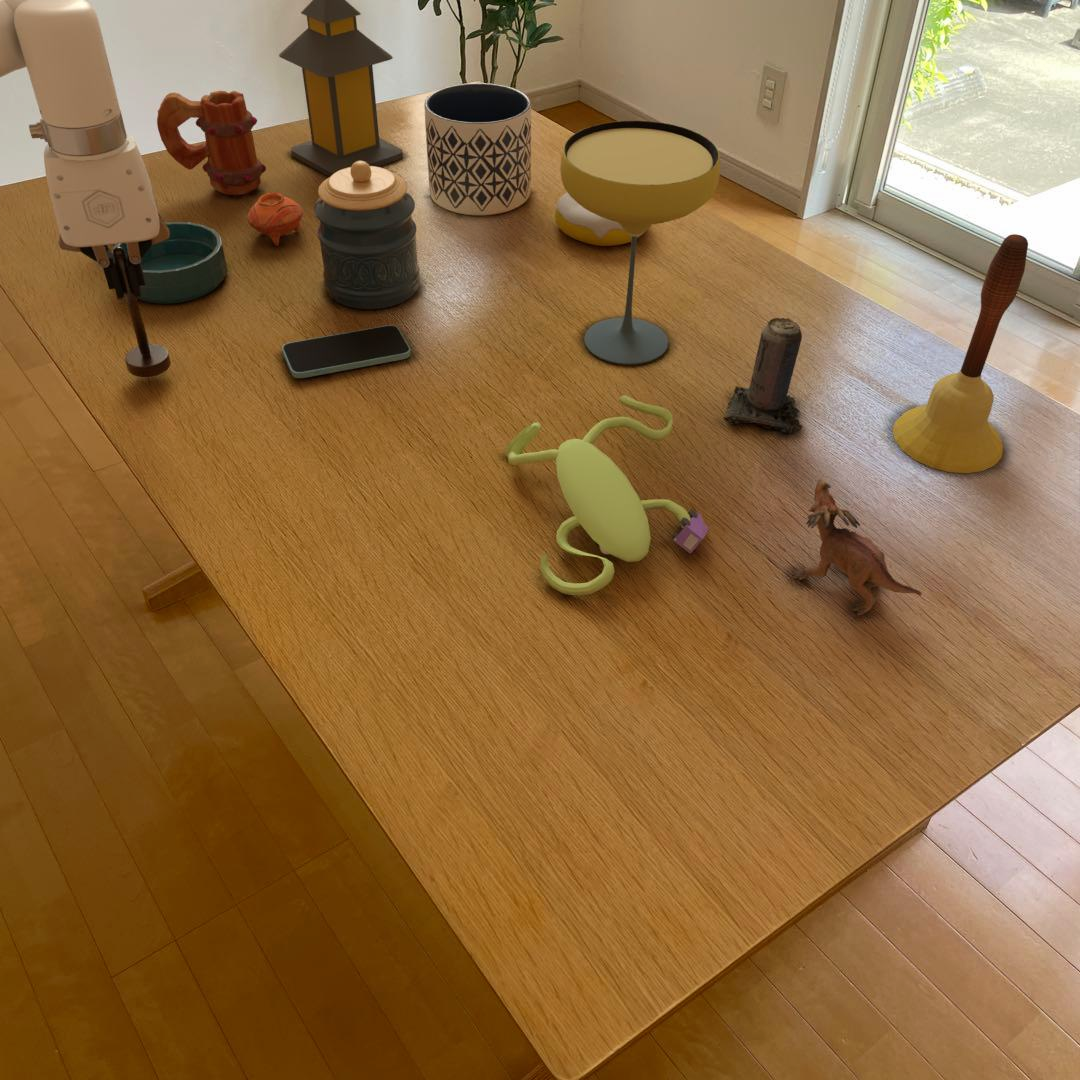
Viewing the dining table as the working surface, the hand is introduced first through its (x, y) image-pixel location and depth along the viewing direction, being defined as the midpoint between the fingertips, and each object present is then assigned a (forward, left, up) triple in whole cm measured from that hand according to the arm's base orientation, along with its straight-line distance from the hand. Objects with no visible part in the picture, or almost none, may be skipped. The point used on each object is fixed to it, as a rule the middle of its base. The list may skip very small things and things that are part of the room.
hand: (129, 291), depth 120 cm
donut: (+65, +23, -12) cm, 70 cm away
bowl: (+3, +24, -12) cm, 27 cm away
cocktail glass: (+58, -7, -12) cm, 60 cm away
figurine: (+45, -36, -12) cm, 59 cm away
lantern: (+32, +59, -12) cm, 68 cm away
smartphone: (+23, -1, -12) cm, 26 cm away
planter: (+50, +39, -12) cm, 65 cm away
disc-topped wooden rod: (0, 0, -10) cm, 10 cm away
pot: (+18, +33, -12) cm, 39 cm away
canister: (+29, +15, -12) cm, 35 cm away
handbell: (+87, -36, -12) cm, 95 cm away
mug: (+11, +51, -12) cm, 53 cm away
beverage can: (+68, -26, -12) cm, 74 cm away
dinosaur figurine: (+64, -54, -12) cm, 85 cm away
